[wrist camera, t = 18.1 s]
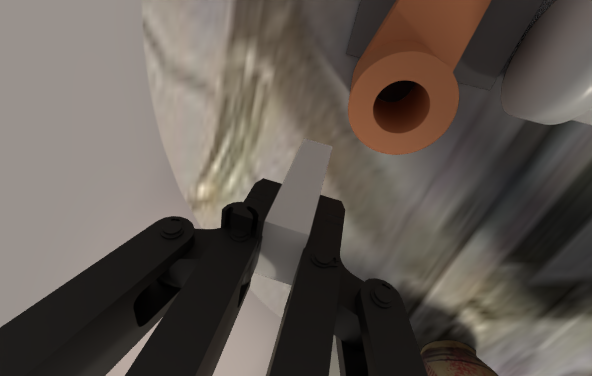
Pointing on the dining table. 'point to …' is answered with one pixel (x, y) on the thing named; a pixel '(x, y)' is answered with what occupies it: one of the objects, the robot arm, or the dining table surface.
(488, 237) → the dining table surface
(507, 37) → the gasket mat
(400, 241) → the dining table surface
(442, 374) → the ceramic jug
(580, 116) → the pipe stub
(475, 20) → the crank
